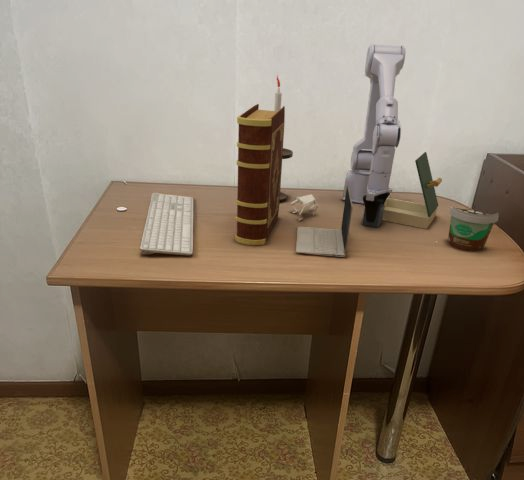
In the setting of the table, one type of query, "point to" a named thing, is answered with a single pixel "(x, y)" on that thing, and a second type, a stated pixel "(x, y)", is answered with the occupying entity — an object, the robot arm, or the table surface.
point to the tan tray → (407, 213)
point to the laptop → (326, 236)
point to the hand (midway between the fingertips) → (372, 219)
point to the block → (377, 220)
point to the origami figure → (305, 203)
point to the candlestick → (286, 152)
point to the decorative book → (259, 173)
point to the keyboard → (169, 225)
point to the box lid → (427, 183)
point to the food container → (470, 228)
